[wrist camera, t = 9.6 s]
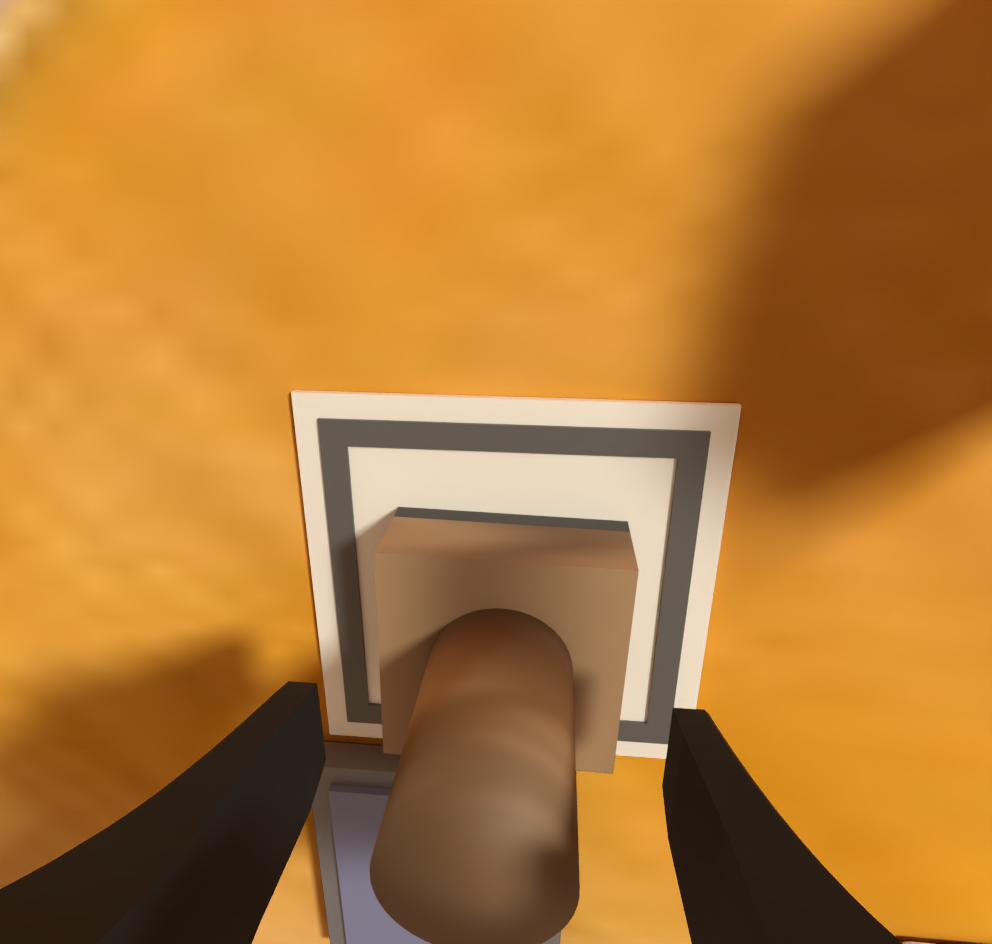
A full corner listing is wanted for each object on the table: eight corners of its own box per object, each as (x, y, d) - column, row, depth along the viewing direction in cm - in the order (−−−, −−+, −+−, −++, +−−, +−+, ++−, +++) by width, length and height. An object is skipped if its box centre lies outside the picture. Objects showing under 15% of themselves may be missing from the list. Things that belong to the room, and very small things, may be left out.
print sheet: (739, 403, 16) (742, 406, 15) (686, 755, 20) (688, 762, 20) (294, 390, 17) (289, 393, 16) (331, 729, 21) (328, 736, 20)
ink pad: (569, 759, 20) (570, 792, 19) (557, 950, 24) (557, 988, 23) (317, 740, 21) (304, 772, 20) (340, 929, 24) (329, 965, 23)
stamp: (627, 521, 17) (681, 764, 10) (606, 706, 19) (636, 1017, 12) (398, 506, 17) (280, 728, 10) (403, 688, 20) (310, 980, 12)
